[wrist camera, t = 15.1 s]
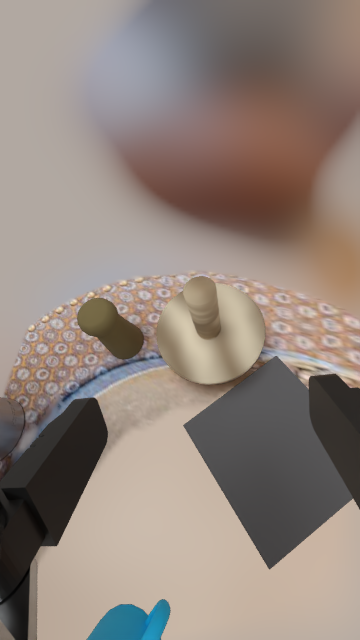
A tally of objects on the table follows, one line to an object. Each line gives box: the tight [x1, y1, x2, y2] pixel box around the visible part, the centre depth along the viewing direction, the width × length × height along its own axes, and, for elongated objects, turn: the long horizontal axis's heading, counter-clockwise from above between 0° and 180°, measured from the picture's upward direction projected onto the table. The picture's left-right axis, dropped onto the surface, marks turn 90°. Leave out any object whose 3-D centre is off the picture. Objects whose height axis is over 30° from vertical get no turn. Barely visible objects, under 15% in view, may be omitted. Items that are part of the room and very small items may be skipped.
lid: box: [156, 276, 265, 385], centre depth 27 cm, size 14×14×10 cm
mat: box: [183, 356, 353, 569], centre depth 28 cm, size 16×16×1 cm
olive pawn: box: [77, 298, 144, 359], centre depth 34 cm, size 6×6×11 cm
